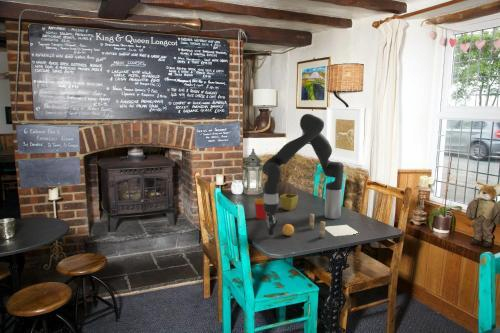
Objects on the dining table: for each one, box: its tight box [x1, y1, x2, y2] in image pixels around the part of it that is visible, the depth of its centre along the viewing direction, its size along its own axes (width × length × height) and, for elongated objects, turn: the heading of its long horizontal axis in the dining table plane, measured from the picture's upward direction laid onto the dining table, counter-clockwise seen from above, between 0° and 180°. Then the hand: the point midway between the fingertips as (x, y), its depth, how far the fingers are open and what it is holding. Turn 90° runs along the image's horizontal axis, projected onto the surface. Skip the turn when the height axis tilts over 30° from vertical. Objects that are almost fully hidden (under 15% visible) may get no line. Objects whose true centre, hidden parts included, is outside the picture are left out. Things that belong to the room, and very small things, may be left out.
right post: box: [319, 220, 326, 239], centre depth 201 cm, size 3×3×8 cm
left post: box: [308, 213, 315, 230], centre depth 214 cm, size 3×3×8 cm
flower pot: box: [279, 194, 299, 211], centre depth 250 cm, size 9×9×9 cm
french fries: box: [254, 197, 267, 220], centre depth 232 cm, size 8×4×12 cm, turn 94°
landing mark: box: [325, 224, 358, 238], centre depth 211 cm, size 15×15×1 cm
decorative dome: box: [278, 181, 299, 198], centre depth 289 cm, size 19×20×10 cm
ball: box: [282, 223, 295, 237], centre depth 203 cm, size 6×6×6 cm
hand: (270, 234), depth 201 cm, fingers closed
